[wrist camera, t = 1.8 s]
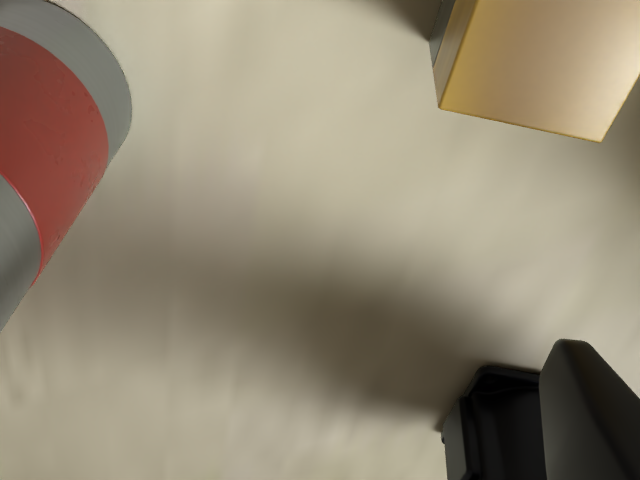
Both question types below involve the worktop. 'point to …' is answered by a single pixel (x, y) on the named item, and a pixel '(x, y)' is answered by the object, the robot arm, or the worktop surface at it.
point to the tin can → (50, 134)
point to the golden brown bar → (538, 62)
